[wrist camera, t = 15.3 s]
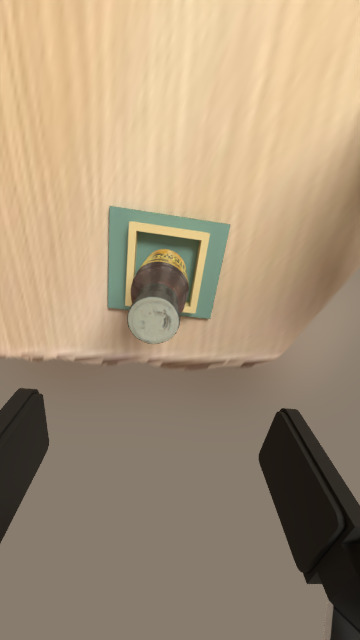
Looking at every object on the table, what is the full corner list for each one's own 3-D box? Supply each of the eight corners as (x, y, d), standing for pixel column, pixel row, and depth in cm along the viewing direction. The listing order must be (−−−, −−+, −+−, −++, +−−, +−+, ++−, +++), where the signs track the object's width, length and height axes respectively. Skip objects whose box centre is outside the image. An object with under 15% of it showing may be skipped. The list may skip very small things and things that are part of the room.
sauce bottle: (193, 263, 36) (218, 316, 18) (169, 295, 38) (171, 372, 20) (157, 236, 34) (144, 266, 16) (134, 272, 36) (101, 333, 18)
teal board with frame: (228, 224, 34) (233, 225, 32) (209, 316, 41) (212, 324, 38) (110, 206, 33) (106, 205, 30) (109, 305, 39) (105, 312, 36)
